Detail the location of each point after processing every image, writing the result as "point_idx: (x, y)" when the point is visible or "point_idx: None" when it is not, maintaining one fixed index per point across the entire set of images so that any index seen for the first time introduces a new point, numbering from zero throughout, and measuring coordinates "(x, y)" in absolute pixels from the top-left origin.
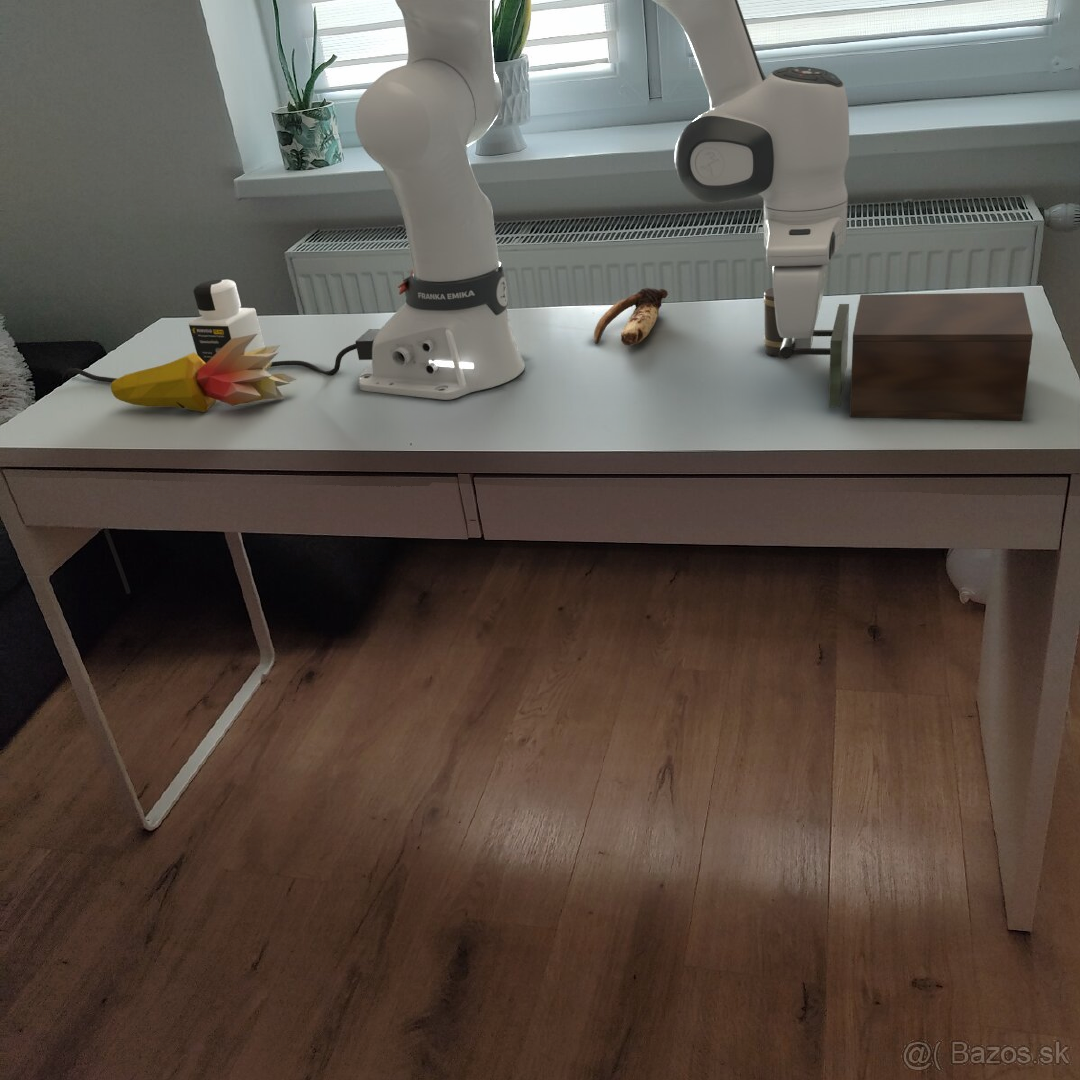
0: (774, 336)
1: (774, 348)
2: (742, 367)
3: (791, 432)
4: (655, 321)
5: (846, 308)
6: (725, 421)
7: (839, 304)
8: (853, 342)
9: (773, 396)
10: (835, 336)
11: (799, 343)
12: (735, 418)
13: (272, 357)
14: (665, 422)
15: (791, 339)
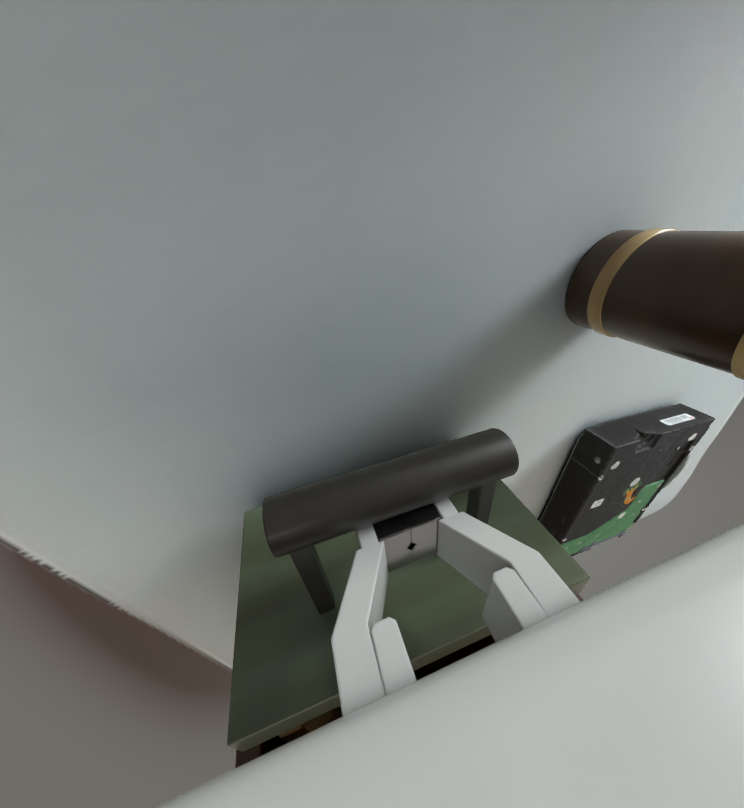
0: (630, 280)
1: (593, 275)
2: (519, 189)
3: (92, 478)
4: None
5: None
6: (17, 269)
7: (585, 580)
8: (236, 767)
9: (313, 357)
10: (277, 728)
11: (357, 539)
12: (78, 299)
13: None
14: None
15: (371, 524)
